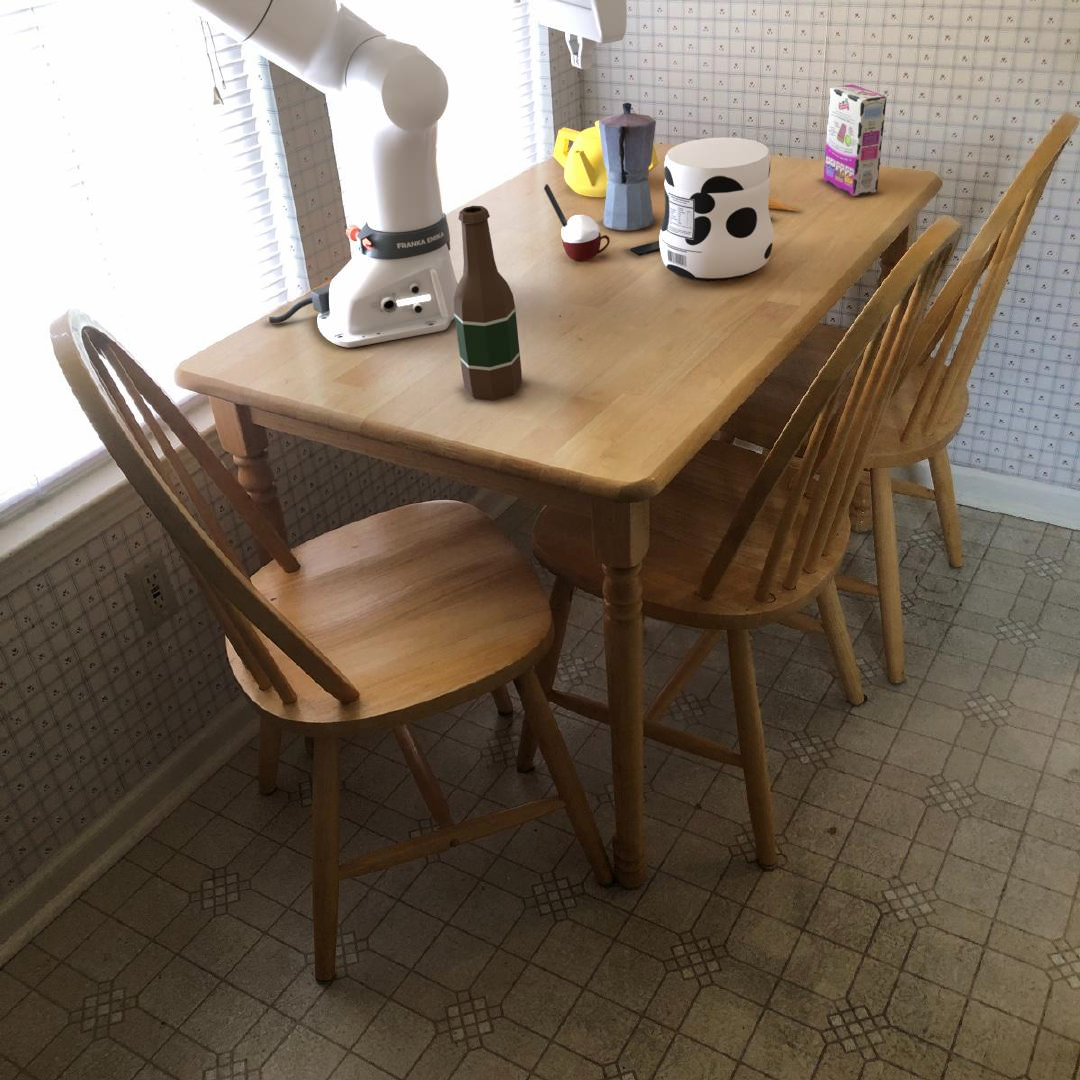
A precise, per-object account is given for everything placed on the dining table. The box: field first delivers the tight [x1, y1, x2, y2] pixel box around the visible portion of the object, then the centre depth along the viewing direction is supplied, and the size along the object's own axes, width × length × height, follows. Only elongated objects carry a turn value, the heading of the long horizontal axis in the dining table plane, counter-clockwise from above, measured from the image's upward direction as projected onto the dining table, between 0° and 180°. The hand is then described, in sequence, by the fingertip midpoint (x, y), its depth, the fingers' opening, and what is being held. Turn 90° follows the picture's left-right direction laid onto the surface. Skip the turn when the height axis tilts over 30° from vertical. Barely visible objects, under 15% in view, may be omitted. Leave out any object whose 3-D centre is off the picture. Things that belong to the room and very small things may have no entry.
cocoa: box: [543, 183, 611, 262], centre depth 180 cm, size 10×6×12 cm, turn 55°
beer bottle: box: [454, 205, 523, 402], centre depth 141 cm, size 8×8×24 cm
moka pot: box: [598, 102, 657, 232], centre depth 188 cm, size 10×15×20 cm, turn 174°
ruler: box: [629, 217, 772, 257], centre depth 187 cm, size 26×3×1 cm, turn 116°
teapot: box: [552, 119, 660, 198], centre depth 209 cm, size 17×17×12 cm
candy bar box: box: [822, 84, 888, 197], centre depth 196 cm, size 11×5×16 cm, turn 17°
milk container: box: [658, 136, 774, 282], centre depth 170 cm, size 17×17×18 cm
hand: (581, 67), depth 159 cm, fingers closed
